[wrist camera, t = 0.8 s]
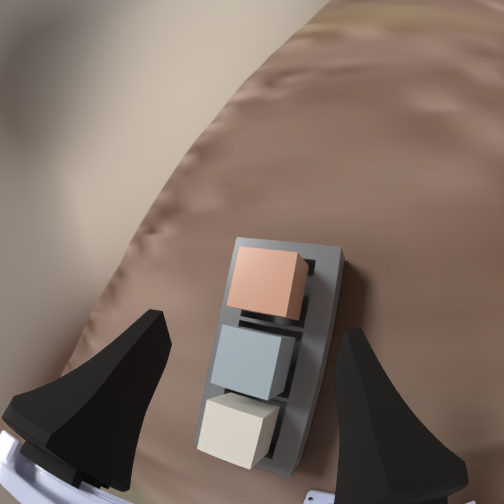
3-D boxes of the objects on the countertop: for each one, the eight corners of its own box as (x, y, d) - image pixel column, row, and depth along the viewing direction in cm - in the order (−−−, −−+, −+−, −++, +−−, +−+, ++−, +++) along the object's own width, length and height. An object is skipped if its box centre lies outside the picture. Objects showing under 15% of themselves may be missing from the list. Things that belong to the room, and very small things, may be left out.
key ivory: (268, 452, 19) (250, 469, 16) (220, 436, 21) (197, 448, 17) (279, 406, 20) (263, 418, 16) (230, 392, 21) (207, 399, 18)
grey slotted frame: (300, 461, 20) (290, 477, 17) (212, 433, 24) (193, 443, 21) (344, 258, 24) (341, 246, 21) (251, 248, 28) (236, 237, 25)
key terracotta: (298, 320, 21) (285, 317, 18) (247, 311, 23) (226, 305, 20) (308, 265, 22) (297, 252, 19) (258, 259, 24) (239, 246, 21)
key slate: (283, 391, 20) (267, 400, 17) (233, 377, 22) (210, 382, 18) (295, 337, 21) (281, 337, 18) (244, 327, 23) (222, 324, 19)
